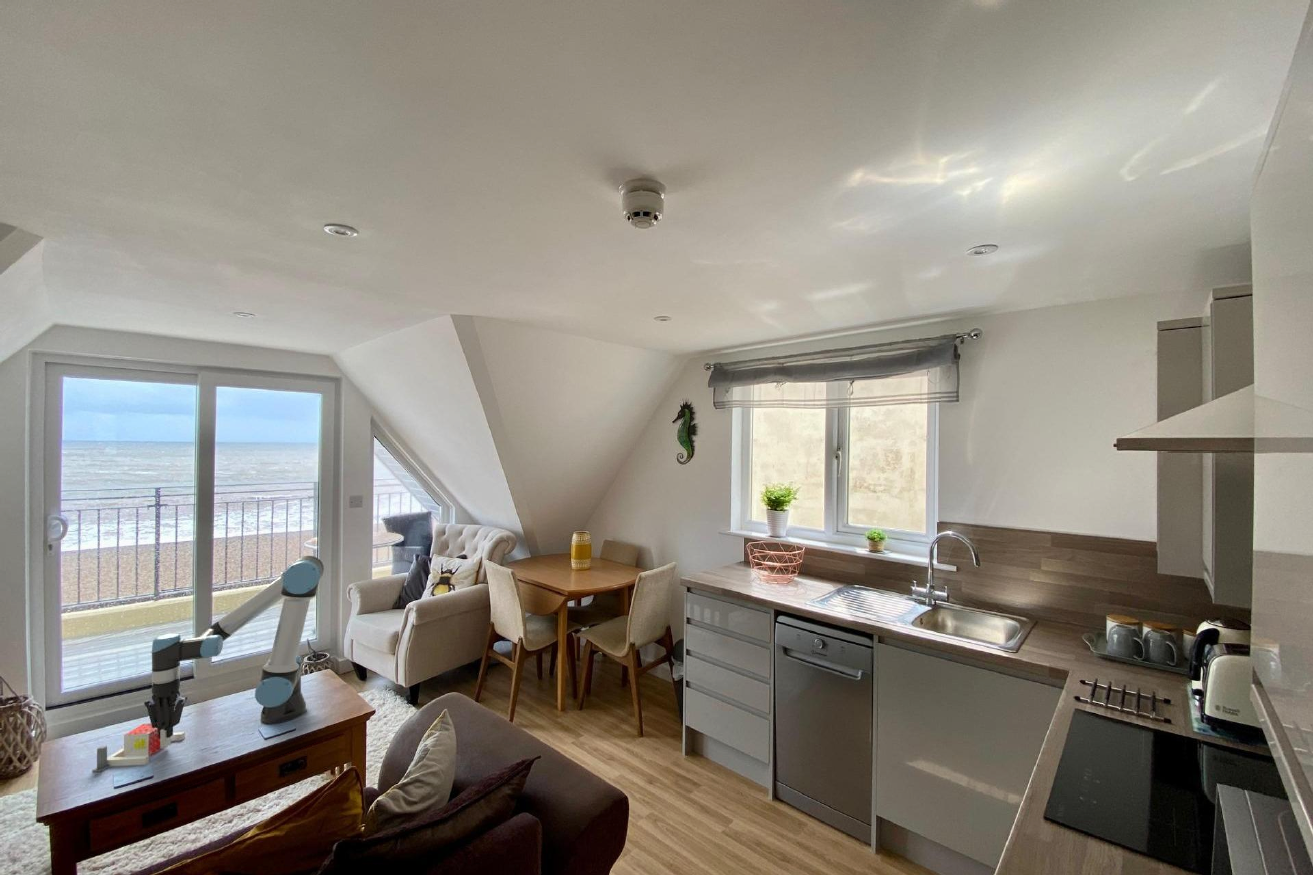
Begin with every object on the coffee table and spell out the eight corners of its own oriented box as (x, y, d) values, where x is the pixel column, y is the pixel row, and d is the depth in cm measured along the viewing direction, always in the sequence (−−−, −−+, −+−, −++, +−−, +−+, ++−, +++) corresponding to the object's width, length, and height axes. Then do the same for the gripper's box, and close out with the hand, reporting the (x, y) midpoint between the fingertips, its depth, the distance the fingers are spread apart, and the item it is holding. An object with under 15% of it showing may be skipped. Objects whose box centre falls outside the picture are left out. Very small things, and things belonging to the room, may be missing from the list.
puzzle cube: (123, 757, 190) (123, 735, 190) (142, 745, 198) (142, 723, 198) (148, 756, 191) (148, 733, 191) (166, 744, 198) (166, 722, 199)
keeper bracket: (184, 737, 202) (184, 718, 203) (137, 769, 183) (138, 748, 183) (143, 739, 201) (144, 720, 202) (92, 771, 181) (92, 750, 182)
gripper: (193, 674, 199) (193, 739, 198) (155, 675, 198) (155, 741, 197) (177, 683, 191) (176, 751, 191) (137, 684, 190) (136, 753, 190)
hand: (165, 746), depth 194 cm, fingers closed
